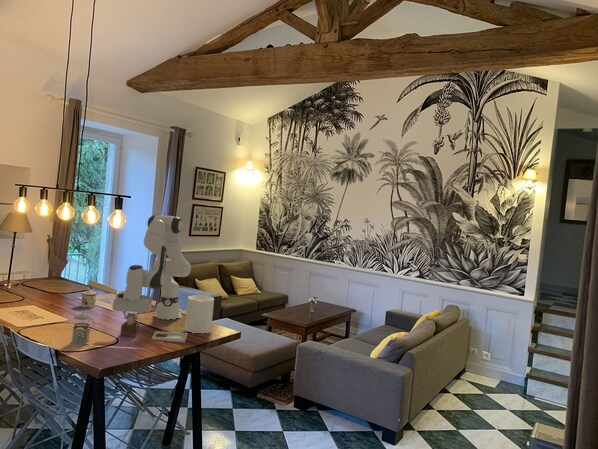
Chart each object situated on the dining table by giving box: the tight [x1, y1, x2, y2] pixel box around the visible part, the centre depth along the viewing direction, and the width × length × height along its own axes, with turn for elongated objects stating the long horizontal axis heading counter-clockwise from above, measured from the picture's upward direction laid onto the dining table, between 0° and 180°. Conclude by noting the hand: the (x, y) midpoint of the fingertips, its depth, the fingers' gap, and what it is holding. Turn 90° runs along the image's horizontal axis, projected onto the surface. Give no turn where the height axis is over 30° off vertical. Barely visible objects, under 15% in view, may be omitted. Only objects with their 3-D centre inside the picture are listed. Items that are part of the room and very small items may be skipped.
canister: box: [184, 294, 215, 335], centre depth 270 cm, size 16×16×20 cm
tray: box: [151, 330, 189, 343], centre depth 248 cm, size 12×18×2 cm, turn 99°
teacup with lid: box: [80, 288, 97, 309], centre depth 299 cm, size 12×9×12 cm
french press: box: [69, 295, 96, 347], centre depth 226 cm, size 10×12×25 cm
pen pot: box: [119, 320, 140, 338], centre depth 245 cm, size 8×8×7 cm
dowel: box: [126, 312, 136, 326], centre depth 245 cm, size 4×4×12 cm
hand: (131, 319), depth 245 cm, fingers closed on dowel, 4 cm apart
